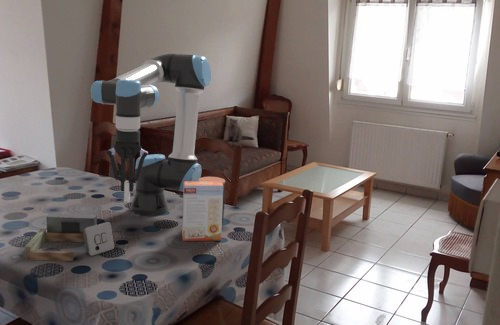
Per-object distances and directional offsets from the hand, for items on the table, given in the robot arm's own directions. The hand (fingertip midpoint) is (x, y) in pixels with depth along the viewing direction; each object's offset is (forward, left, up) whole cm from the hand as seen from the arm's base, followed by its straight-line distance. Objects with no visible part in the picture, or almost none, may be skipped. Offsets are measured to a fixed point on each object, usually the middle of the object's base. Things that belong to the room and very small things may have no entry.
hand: (127, 200), depth 167 cm
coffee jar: (-28, -29, -18) cm, 44 cm away
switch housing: (+20, -11, -18) cm, 29 cm away
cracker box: (-25, -14, -18) cm, 34 cm away
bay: (+22, 0, -18) cm, 29 cm away
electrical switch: (+9, 0, -18) cm, 20 cm away
